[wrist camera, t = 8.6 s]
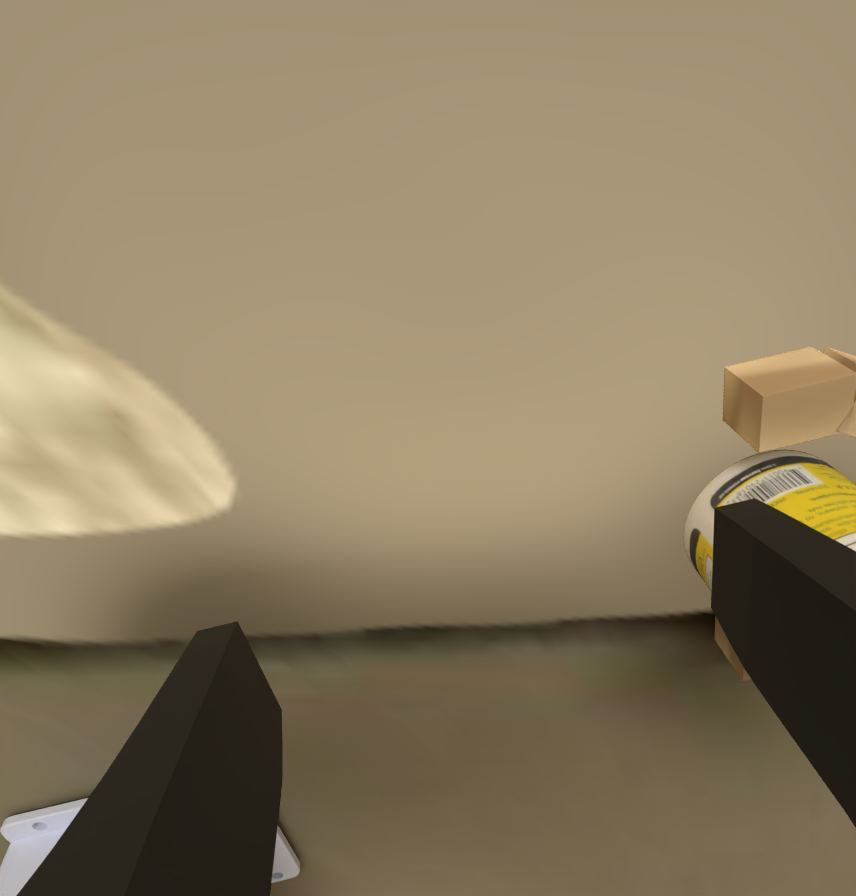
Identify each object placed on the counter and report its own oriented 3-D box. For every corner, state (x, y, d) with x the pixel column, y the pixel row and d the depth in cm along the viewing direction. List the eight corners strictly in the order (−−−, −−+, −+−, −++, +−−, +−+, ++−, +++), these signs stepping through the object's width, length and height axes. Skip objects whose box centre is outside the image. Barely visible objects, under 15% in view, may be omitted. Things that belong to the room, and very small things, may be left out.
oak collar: (714, 639, 25) (742, 681, 23) (724, 367, 19) (762, 396, 17) (894, 596, 25) (935, 635, 23) (961, 310, 19) (1022, 334, 17)
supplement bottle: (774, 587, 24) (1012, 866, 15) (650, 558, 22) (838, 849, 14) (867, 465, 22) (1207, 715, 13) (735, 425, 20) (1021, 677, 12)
